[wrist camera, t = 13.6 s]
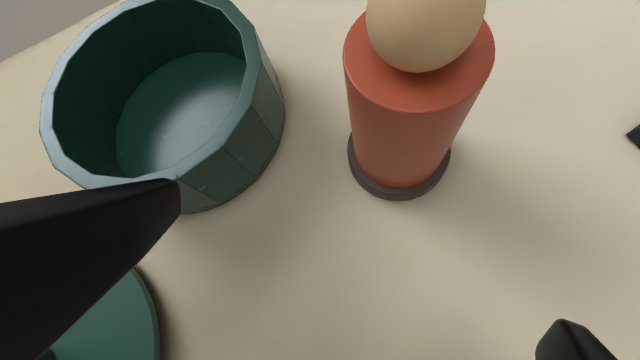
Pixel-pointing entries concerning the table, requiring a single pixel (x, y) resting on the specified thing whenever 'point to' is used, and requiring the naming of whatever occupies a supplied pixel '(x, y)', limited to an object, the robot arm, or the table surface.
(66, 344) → the pot lid
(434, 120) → the peg doll
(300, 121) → the table surface
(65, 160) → the pot
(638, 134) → the dark blue flat block
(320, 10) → the table surface
